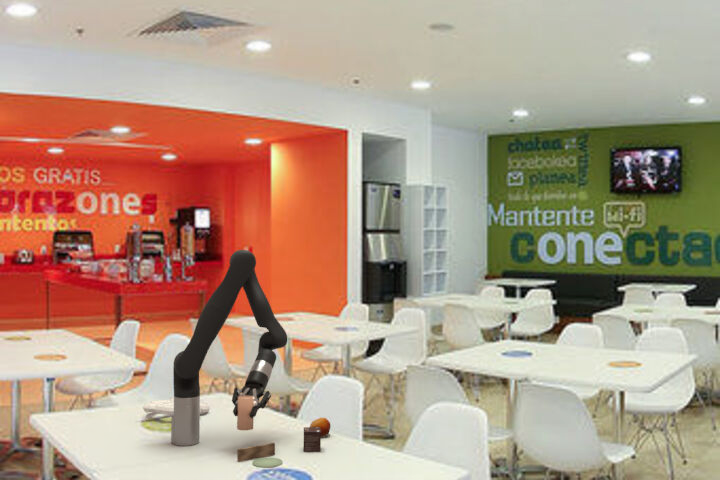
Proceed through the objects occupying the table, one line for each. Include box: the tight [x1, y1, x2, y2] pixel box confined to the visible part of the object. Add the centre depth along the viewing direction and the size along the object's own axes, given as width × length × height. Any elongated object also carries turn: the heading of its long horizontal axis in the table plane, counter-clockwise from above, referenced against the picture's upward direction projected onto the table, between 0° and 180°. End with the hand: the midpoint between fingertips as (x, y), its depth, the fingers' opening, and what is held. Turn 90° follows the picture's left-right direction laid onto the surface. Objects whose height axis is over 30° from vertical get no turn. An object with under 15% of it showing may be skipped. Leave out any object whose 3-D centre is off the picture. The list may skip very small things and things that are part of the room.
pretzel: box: [142, 397, 211, 416], centre depth 324 cm, size 28×24×6 cm
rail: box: [236, 442, 276, 463], centre depth 265 cm, size 14×1×4 cm, turn 128°
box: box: [303, 426, 322, 453], centre depth 276 cm, size 6×6×7 cm
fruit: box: [309, 417, 331, 438], centre depth 294 cm, size 8×8×8 cm
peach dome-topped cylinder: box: [236, 394, 255, 431], centre depth 271 cm, size 6×6×11 cm
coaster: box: [251, 456, 283, 469], centre depth 260 cm, size 10×10×1 cm
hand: (243, 415), depth 269 cm, fingers closed on peach dome-topped cylinder, 5 cm apart
